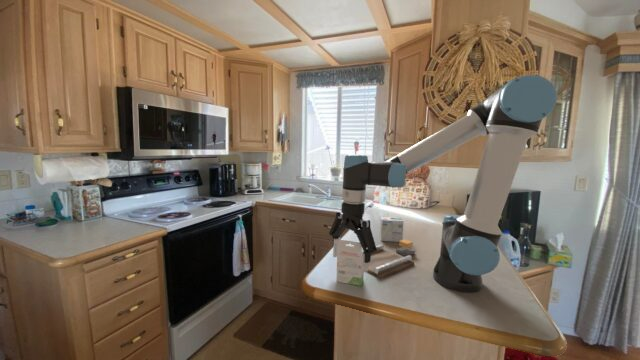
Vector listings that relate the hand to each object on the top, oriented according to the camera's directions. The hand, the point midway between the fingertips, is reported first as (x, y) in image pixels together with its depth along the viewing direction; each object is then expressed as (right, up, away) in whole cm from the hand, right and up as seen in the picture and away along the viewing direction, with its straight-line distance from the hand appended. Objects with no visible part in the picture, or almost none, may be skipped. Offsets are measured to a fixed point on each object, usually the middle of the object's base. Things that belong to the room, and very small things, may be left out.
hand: (349, 263), depth 89 cm
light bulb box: (+25, -2, +43) cm, 50 cm away
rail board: (+14, -5, +16) cm, 21 cm away
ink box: (0, -6, +1) cm, 6 cm away
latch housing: (+27, -4, +26) cm, 38 cm away
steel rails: (+14, -5, +16) cm, 21 cm away
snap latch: (+27, 0, +26) cm, 38 cm away
